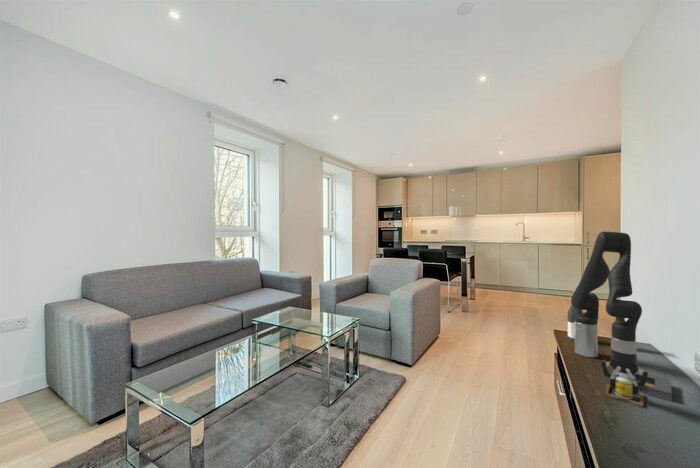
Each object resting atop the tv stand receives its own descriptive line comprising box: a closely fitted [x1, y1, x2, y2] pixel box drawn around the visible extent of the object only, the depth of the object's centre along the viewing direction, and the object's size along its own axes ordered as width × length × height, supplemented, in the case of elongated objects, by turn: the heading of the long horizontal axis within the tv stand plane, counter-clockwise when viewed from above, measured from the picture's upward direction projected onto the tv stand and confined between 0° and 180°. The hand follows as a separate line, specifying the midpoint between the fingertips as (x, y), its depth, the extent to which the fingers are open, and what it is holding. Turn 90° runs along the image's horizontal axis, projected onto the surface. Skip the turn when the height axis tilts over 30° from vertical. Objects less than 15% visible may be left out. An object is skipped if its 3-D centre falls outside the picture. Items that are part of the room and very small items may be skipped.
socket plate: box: [617, 371, 673, 402], centre depth 123 cm, size 16×16×3 cm
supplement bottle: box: [614, 372, 634, 400], centre depth 116 cm, size 5×5×10 cm
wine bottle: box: [567, 289, 584, 342], centre depth 175 cm, size 8×8×30 cm
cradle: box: [603, 382, 645, 408], centre depth 116 cm, size 11×11×1 cm
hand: (623, 390), depth 116 cm, fingers closed on supplement bottle, 5 cm apart
